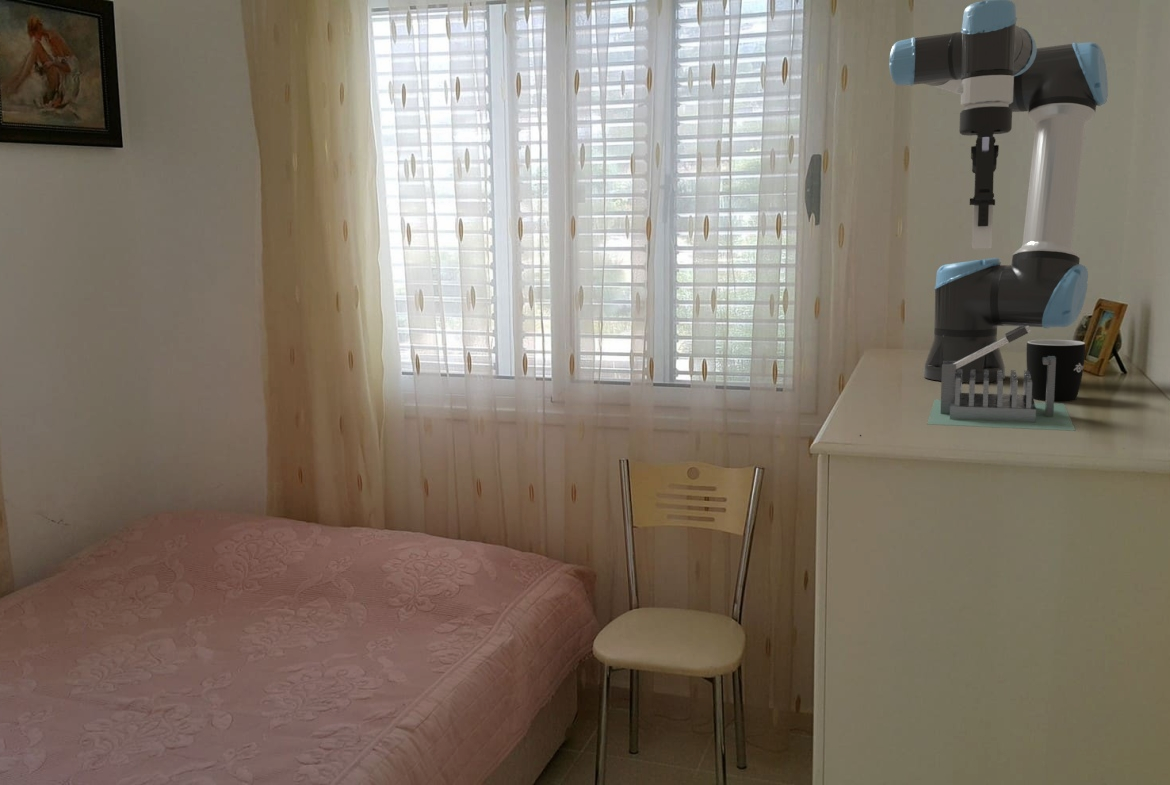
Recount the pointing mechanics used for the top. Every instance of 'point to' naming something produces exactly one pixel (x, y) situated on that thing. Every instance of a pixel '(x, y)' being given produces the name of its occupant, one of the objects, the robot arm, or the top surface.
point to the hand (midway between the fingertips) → (981, 247)
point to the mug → (1066, 367)
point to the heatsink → (994, 396)
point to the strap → (994, 345)
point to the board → (1042, 422)
